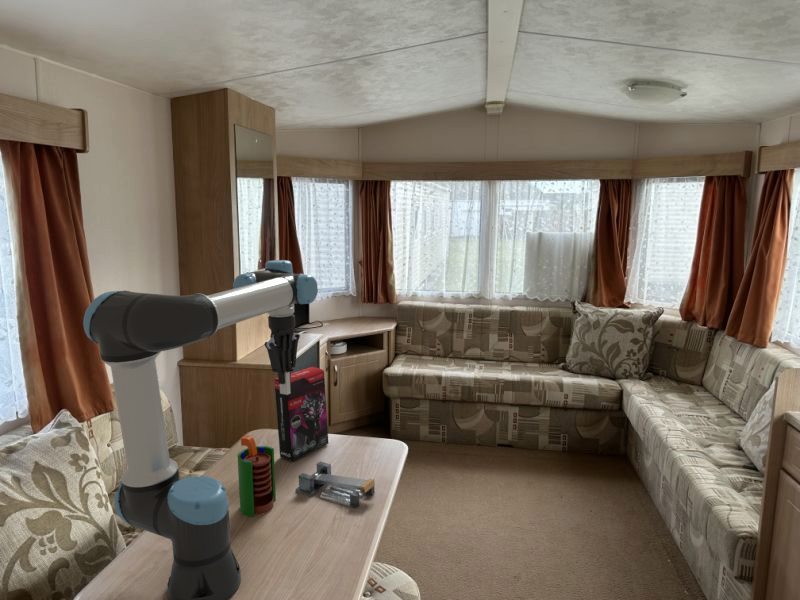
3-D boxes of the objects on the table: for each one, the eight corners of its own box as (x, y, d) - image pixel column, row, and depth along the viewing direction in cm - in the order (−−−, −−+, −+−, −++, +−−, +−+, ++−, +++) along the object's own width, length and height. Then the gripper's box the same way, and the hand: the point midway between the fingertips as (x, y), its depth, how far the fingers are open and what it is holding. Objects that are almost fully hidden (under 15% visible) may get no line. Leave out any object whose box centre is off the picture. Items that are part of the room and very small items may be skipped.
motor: (264, 518, 149) (260, 447, 146) (233, 515, 151) (228, 445, 148) (280, 499, 159) (276, 432, 156) (250, 496, 161) (246, 429, 157)
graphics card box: (291, 463, 181) (287, 382, 176) (277, 457, 185) (273, 378, 180) (329, 445, 194) (326, 368, 189) (315, 440, 198) (312, 365, 194)
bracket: (354, 509, 153) (354, 492, 152) (295, 491, 163) (294, 475, 162) (375, 491, 162) (375, 475, 162) (318, 475, 172) (318, 460, 172)
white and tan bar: (307, 485, 164) (365, 494, 154) (306, 477, 164) (364, 486, 154) (318, 477, 169) (375, 486, 159) (317, 469, 168) (374, 477, 158)
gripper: (276, 319, 154) (280, 402, 158) (306, 311, 165) (309, 388, 169) (255, 317, 157) (260, 398, 161) (286, 309, 168) (289, 385, 172)
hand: (285, 393), depth 165 cm, fingers closed
